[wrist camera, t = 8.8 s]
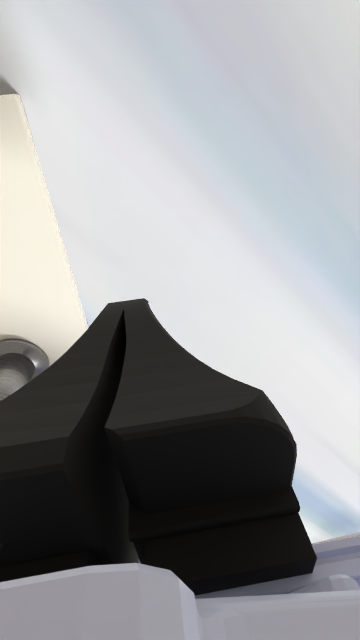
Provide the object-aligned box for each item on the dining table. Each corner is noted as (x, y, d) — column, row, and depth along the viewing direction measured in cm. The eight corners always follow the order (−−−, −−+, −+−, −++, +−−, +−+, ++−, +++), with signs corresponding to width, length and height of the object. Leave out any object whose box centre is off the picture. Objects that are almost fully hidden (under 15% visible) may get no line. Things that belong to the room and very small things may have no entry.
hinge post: (59, 372, 23) (34, 453, 18) (4, 380, 23) (-40, 465, 17) (41, 327, 21) (6, 402, 15) (-20, 336, 21) (-78, 415, 15)
